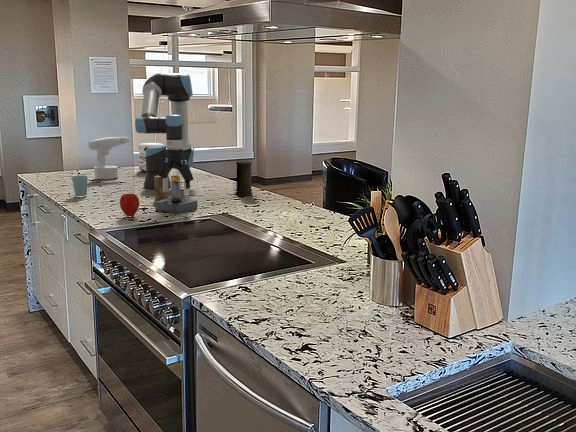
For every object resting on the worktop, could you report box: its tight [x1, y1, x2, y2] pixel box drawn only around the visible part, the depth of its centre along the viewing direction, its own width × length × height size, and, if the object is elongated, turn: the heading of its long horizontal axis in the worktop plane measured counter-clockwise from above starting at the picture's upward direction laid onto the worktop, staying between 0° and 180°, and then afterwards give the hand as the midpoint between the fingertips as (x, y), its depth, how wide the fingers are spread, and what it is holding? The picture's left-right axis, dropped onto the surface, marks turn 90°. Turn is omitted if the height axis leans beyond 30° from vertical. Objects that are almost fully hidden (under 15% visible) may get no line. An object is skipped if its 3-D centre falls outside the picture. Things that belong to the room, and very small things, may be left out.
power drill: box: [87, 136, 130, 180], centre depth 345 cm, size 8×24×25 cm, turn 122°
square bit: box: [154, 175, 170, 201], centre depth 291 cm, size 5×5×12 cm
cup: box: [71, 175, 89, 197], centre depth 294 cm, size 8×8×10 cm
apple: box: [119, 193, 140, 217], centre depth 254 cm, size 9×8×11 cm
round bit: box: [170, 175, 181, 202], centre depth 269 cm, size 4×4×16 cm
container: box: [235, 160, 253, 197], centre depth 305 cm, size 9×9×18 cm
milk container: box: [138, 142, 164, 173], centre depth 372 cm, size 17×17×18 cm
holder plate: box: [154, 197, 199, 215], centre depth 271 cm, size 14×14×4 cm
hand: (176, 193), depth 269 cm, fingers open, 13 cm apart
